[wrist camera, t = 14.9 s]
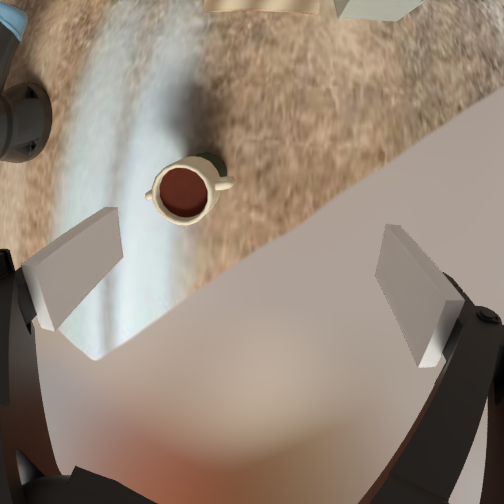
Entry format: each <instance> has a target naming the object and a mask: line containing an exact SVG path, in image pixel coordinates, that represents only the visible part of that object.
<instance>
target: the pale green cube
mask: <svg viewBox="0 0 504 504" xmlns="http://www.w3.org/2000/svg"><path fill="white" fill-rule="evenodd" d="M334 2H335V7H336V11H337V16H338V19H363V20H382V21H394V22H396V21H398V20H399V19H400V18H402V17H403V16H405V15H406V14H407V13H409V12H410V11H412V10H413V9H414V8H416V7H417V6H419V5H420V4H422V3H423V2H425V0H334Z"/></svg>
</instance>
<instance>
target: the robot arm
mask: <svg viewBox="0 0 504 504" xmlns="http://www.w3.org/2000/svg"><path fill="white" fill-rule="evenodd" d="M27 23H28V17H27V14H26V13H25V12H24V11H22V10H21V9H19V8H16V7H14V6H12V5H9V4H6V3H4V2H0V161H6V162H12V163H22V162H25V161H29V160H31V159H33V158H35V157H36V156H37V155H38V154H39V153H40V152H41V151H42V150H43V148H44V146H45V145H46V143H47V140H48V138H49V134H50V130H51V124H52V111H51V105H50V101H49V98H48V96H47V94H46V92H45V91H44V90H43V89H42V88H41V87H40V86H39V85H37V84H33V83H22V84H18V85H15V86H13V87H11V88H9V89H7V90H5V91H3V88H4V85H5V82H6V79H7V76H8V73H9V70H10V67H11V64H12V62H13V59H14V56H15V54H16V51H17V48H18V46H19V45H20V44H21V42H22V36H23V34H24V31H25V28H26V26H27ZM122 258H123V251H122V244H121V236H120V227H119V218H118V208H117V207H104V208H103V209H101V210H100V211H98V212H96V213H95V214H93V215H92V216H90V217H89V218H87V219H85V220H84V221H82V222H81V223H79V224H78V225H76V226H75V227H73V228H72V229H70V230H69V231H67V232H66V233H64V234H63V235H61V236H60V237H59V238H57V239H56V240H54V241H53V242H51V243H50V244H49V245H47V246H46V247H44V248H43V249H42V250H40V251H39V252H37V253H36V254H35V255H33V256H32V257H31V258H29V259H28V260H27V261H25V262H24V263H23V264H21V267H20V268H19V269H18V270H16V271H15V269H14V265H13V261H12V257H11V254H10V250H8V249H0V504H157V503H155V502H153V501H151V500H149V499H147V498H145V497H144V496H142V495H140V494H138V493H136V492H134V491H132V490H131V489H129V488H127V487H126V486H124V485H122V484H121V483H119V482H117V481H115V480H112V479H109V478H106V477H103V476H101V475H98V474H95V473H92V472H90V471H87V470H84V469H82V468H79V467H77V466H75V468H74V470H73V472H72V474H71V475H62V474H61V472H60V471H59V469H58V466H57V464H56V461H55V457H54V453H53V450H52V445H51V441H50V437H49V432H48V428H47V423H46V418H45V413H44V407H43V402H42V396H41V389H40V383H39V374H38V367H37V356H36V344H35V329H34V326H33V323H32V321H31V320H32V319H33V318H34V317H35V316H36V315H37V318H38V320H39V323H40V326H41V328H44V329H48V330H51V331H56V330H57V329H58V327H59V326H60V325H61V324H62V323H63V322H64V320H65V319H66V318H67V317H68V316H69V315H70V314H71V312H72V311H73V310H74V309H75V308H76V307H77V306H78V305H79V304H80V302H81V301H82V300H83V299H84V298H85V297H86V296H87V295H88V294H89V293H90V291H91V290H92V289H93V288H94V287H95V286H96V285H97V284H98V283H99V282H100V281H101V280H102V279H103V277H104V276H105V275H106V274H107V273H108V272H109V271H110V270H111V269H112V268H113V267H114V266H115V265H116V264H117V263H118V262H119V261H120V260H121V259H122ZM375 277H376V278H377V281H378V282H379V284H380V286H381V288H382V290H383V292H384V295H385V297H386V299H387V300H388V303H389V305H390V307H391V309H392V311H393V313H394V315H395V317H396V319H397V322H398V324H399V326H400V328H401V330H402V333H403V335H404V337H405V339H406V341H407V344H408V346H409V348H410V351H411V353H412V355H413V357H414V360H415V362H416V365H417V367H418V368H422V367H435V366H436V365H437V363H438V361H439V359H440V357H441V355H442V353H443V355H444V357H445V359H446V363H445V365H444V367H443V369H442V371H441V373H440V374H439V376H438V378H437V380H436V382H435V385H434V387H433V389H432V391H431V393H430V395H429V397H428V399H427V401H426V402H425V405H424V406H423V408H422V410H421V412H420V413H419V415H418V417H417V419H416V420H415V422H414V424H413V426H412V427H411V429H410V431H409V432H408V434H407V435H406V437H405V439H404V440H403V442H402V443H401V445H400V447H399V448H398V450H397V451H396V453H395V454H394V456H393V457H392V459H391V460H390V462H389V463H388V465H387V466H386V467H385V469H384V470H383V471H382V473H381V474H380V476H379V477H378V479H377V480H376V481H375V482H374V484H373V485H372V486H371V488H370V489H369V490H368V492H367V493H366V494H365V495H364V497H363V498H362V499H361V500H360V502H359V503H358V504H449V503H448V500H449V497H450V495H451V493H452V491H453V489H454V487H455V484H456V482H457V480H458V478H459V476H460V473H461V471H462V469H463V466H464V464H465V461H466V459H467V456H468V454H469V451H470V448H471V446H472V443H473V441H474V437H475V435H476V432H477V429H478V426H479V423H480V420H481V416H482V413H483V410H484V406H485V403H486V399H487V396H488V428H487V448H486V461H485V470H484V479H483V487H482V493H481V499H480V504H504V325H502V322H501V319H500V317H499V316H498V315H497V314H496V313H495V312H494V311H492V310H490V309H488V308H485V307H483V306H475V305H474V304H473V302H472V301H471V300H470V299H469V297H468V296H467V295H466V294H465V293H464V292H463V290H462V289H461V288H460V287H458V284H457V283H456V282H455V281H454V279H453V278H451V277H450V276H448V275H447V274H445V273H444V272H441V270H439V268H438V267H437V266H436V265H435V263H434V262H433V261H432V260H431V259H430V258H429V257H428V256H427V254H426V253H425V252H424V251H423V250H422V249H421V248H420V247H419V246H418V244H417V243H416V242H415V241H414V240H413V239H412V238H411V237H410V236H409V235H408V234H407V233H406V231H405V230H404V229H402V227H401V226H398V225H390V224H386V225H385V231H384V235H383V241H382V246H381V251H380V255H379V260H378V264H377V269H376V273H375Z"/></svg>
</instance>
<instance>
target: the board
mask: <svg viewBox="0 0 504 504" xmlns="http://www.w3.org/2000/svg"><path fill="white" fill-rule="evenodd" d="M204 11H205V12H222V11H276V12H293V13H305V14H315V15H318V14H319V0H204Z"/></svg>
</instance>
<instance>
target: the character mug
mask: <svg viewBox="0 0 504 504" xmlns="http://www.w3.org/2000/svg"><path fill="white" fill-rule="evenodd" d="M234 183H235V179H234V177H232V176H227V170H226V168H225V165H224V163H223V162H222V161H221V160H220V159H219V158H218V157H217V156H216V155H213V154H210V153H202V154H197V155H196V156H195V157H193V156H189V157H186V158H184V159H181V160H179V161H177V162H175V163H173V164H171V165H168V166H166V167H165V168H164V169H163V170H162V171H161V172H160V173H159V174H158V175H157V176H156V178H155V180H154V183H153V186H152V189H151V190H150V191H148V192H147V193H146V194H145V198H146V200H153V202H154V205H155V207H156V209H157V211H158V212H159V213H160V214H161V215H162V216H163V217H164V218H165V219H167V220H168V221H170V222H172V223H174V224H178V225H190V224H193V223H195V222H197V221H199V220H200V219H201V218H202V217H203V216H204V215H205V214H207V213H208V211H210V209H211V208H212V207H213V206H214V204H215V203H216V202H217V200H218V198H219V195H220V191H221V190H224V189H229V188H230V187H232V186H233V184H234Z"/></svg>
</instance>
